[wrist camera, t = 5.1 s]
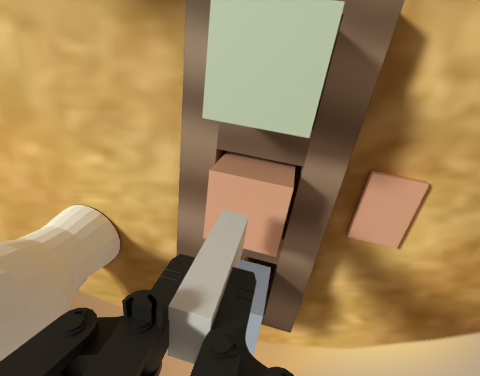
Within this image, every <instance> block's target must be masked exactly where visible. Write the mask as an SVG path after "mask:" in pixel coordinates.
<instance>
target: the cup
mask: <svg viewBox="0 0 480 376" xmlns="http://www.w3.org/2000/svg"><path fill="white" fill-rule="evenodd" d="M119 250H120V239H119V235H118V233H117V231H116V229H115V227H114V226H113V225H112V223H111V222H110V221H109V220H108V219H107V218H106V217H105V216H104V215H103V214H101V213H100V212H98V211H96V210H95V209H93V208H90V207H87V206H83V205H74V206H70V207H68V208H67V209H65V210H64V211H63V212H61V213H60V214H59V215H57V216H56V217H55V218H54V219H52V220H51V221H50V222H49V223H48V224H47V225H45V226H44V227H43V228H42V229H40V230H37V231H35V232H33V233H30V234H28V235H26V236H24V237H21V238H19V239H16V240H8V241H1V242H0V361H1V360H3V359H4V358H5V357H7V356H8V355H9V354H11V353H12V352H13V351H15V350H16V349H17V348H19V347H20V346H21V345H23V344H24V343H25V342H27V341H28V340H29V339H31V338H32V337H33V336H35V335H36V334H37V333H39V332H40V331H41V330H43V329H44V328H45V327H46V326H48V325H49V324H50V323H52V322H53V321H54V320H56V319H57V318H58V317H60V316H61V315H63V314H65V313H66V312H68V311H69V308H70V306H71V303H72V300H73V298H74V295H75V293H76V292H77V291H78V289H79V288H80V287H81V286H82V285H83V283H84V282H85V281H86V280H87V278H88V277H89V276H90V275H92V274H93V273H95V272H96V271H98V270H99V269H101V268H102V267H104V266H105V265H106V264H108V263H109V262H110V261H112V260H113V259H114V258H115V257H116V256H117V255H118V253H119Z"/></svg>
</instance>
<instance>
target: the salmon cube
mask: <svg viewBox="0 0 480 376" xmlns="http://www.w3.org/2000/svg"><path fill="white" fill-rule="evenodd" d="M294 177H295V165H293V164H289V163H284V162H279V161H274V160H269V159H264V158H259V157H254V156H249V155H245V154H240V153H235V152H230V151H227V152H226V153H225V154H224V155H223V156H222V157H221V158H220V159H219V161H218V162H217V163H216V164H215V165H214V166H213V167H212V168H211V169H210V170H209V180H208V191H207V201H206V212H205V223H204V234H203V238H205V239H206V238H207V237H208V235H209V233H210V231H211V229H212V228H213V226H214V224H215V222H216V221H217V219H218V217H219V215H220V213H221V212H222V210H228V211H232V212H236V213H240V214H245V215H249V218H248V223H247V229H246V235H245V240H244V246H243V249H247V250H251V251H255V252H259V253H263V254H267V255H271V256H274V257H276V255H277V251H278V247H279V244H280V240H281V236H282V232H283V228H284V224H285V220H286V216H287V212H288V208H289V204H290V200H291V197H292V193H293V189H294Z"/></svg>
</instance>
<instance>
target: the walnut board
mask: <svg viewBox="0 0 480 376" xmlns="http://www.w3.org/2000/svg"><path fill="white" fill-rule="evenodd" d="M335 1H344V2H345V3H344V7H343V11H342V15H341V19H340V23H339V26H338V30H337V34H336V38H335V42H334V46H333V49H332V53H331V57H330V61H329V65H328V69H327V72H326V76H325V80H324V84H323V88H322V92H321V95H320V99H319V103H318V107H317V111H316V115H315V119H314V122H313V126H312V130H311V134H310V138H306V137H300V136H295V135H290V134H284V133H279V132H274V131H269V130H263V129H258V128H253V127H247V126H242V125H237V124H231V123H226V122H221V121H215V120H210V119H205V118H202V115H203V101H204V87H205V74H206V60H207V46H208V32H209V18H210V5H211V0H186V24H185V50H184V76H183V102H182V128H181V154H180V180H179V206H178V232H177V256H178V255H179V254H184V255H188V256H191V257H195V258H196V256H197V254H198V253H199V251H200V249H201V247H202V246H203V244H204V242H205V240H206V239H205V238H203V234H204V223H205V212H206V201H207V191H208V180H209V170H210V169H211V168H212V167H213V166H214V165H215V164H216V163H217V162H218V161H219V159H220V158H221V157H222V156H223V155H224V154H225V153H226V151H230V152H235V153H240V154H245V155H249V156H254V157H259V158H264V159H269V160H274V161H279V162H284V163H289V164H293V165H298V166H301V167H300V170H299V174H298V178H297V182H296V186H295V190H294V194H293V198H292V201H291V205H290V209H289V213H288V217H287V221H285V224H284V228H283V232H282V236H281V240H280V244H279V247H278V251H277V255H276V257H274V256H271V255H267V254H263V253H259V252H255V251H251V250H247V249H243V252H242V255H243V256H247V257H251V258H255V259H259V260H262V261H266V262H270V263H274V264H275V267H274V271H273V275H272V279H271V283H270V287H269V291H267V295H266V301H265V307H264V313H263V318H262V322H261V324H263V325H266V326H270V327H273V328H276V329H280V330H283V331H286V332H290V333H291V330H292V327H293V324H294V321H295V318H296V315H297V312H298V309H299V306H300V304H301V301H302V298H303V295H304V292H305V289H306V286H307V283H308V280H309V277H310V274H311V272H312V269H313V266H314V263H315V260H316V257H317V254H318V251H319V248H320V245H321V242H322V239H323V237H324V234H325V231H326V228H327V225H328V222H329V219H330V216H331V213H332V210H333V207H334V205H335V202H336V199H337V196H338V193H339V190H340V187H341V184H342V181H343V178H344V175H345V172H346V170H347V167H348V164H349V161H350V158H351V155H352V152H353V149H354V146H355V143H356V140H357V138H358V135H359V132H360V129H361V126H362V123H363V120H364V117H365V114H366V111H367V108H368V105H369V103H370V100H371V97H372V94H373V91H374V88H375V85H376V82H377V79H378V76H379V73H380V71H381V68H382V65H383V62H384V59H385V56H386V53H387V50H388V47H389V44H390V41H391V38H392V36H393V33H394V30H395V27H396V24H397V21H398V18H399V15H400V12H401V9H402V6H403V4H404V1H405V0H335Z"/></svg>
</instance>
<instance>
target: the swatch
mask: <svg viewBox="0 0 480 376" xmlns="http://www.w3.org/2000/svg"><path fill="white" fill-rule="evenodd" d="M428 186H429V184H428V183H427V182H426V181H422V180H417V179H412V178H407V177H402V176H397V175H392V174H387V173H382V172H377V171H372V170H371V172H370V175H369V177H368V180H367V182H366V185H365V187H364V190H363V193H362V195H361V198H360V200H359V203H358V205H357V208H356V211H355V213H354V216H353V218H352V221H351V223H350V226H349V229H348V231H347V236H348V237H350V238H354V239H358V240H362V241H366V242H371V243H375V244H379V245H383V246H387V247H392V248H396V249H397V247H398V245H399V243H400V241H401V239H402V237H403V235H404V233H405V231H406V230H407V228H408V226H409V224H410V222H411V220H412V218H413V216H414V214H415V212H416V210H417V208H418V206H419V204H420V202H421V200H422V198H423V196H424V194H425V192H426V190H427V188H428Z"/></svg>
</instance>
